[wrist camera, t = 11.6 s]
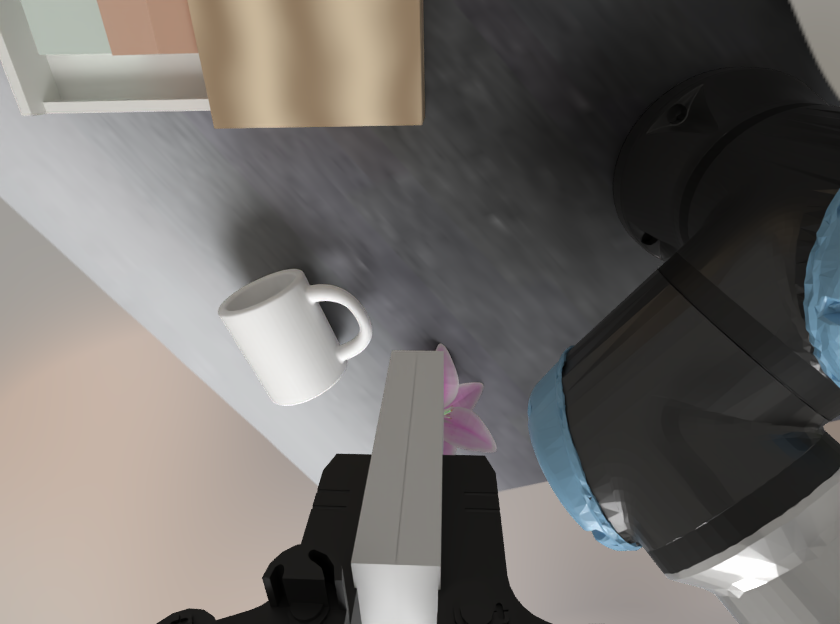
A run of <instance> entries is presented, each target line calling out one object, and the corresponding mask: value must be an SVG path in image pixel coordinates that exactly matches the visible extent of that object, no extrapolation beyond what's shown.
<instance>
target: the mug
mask: <svg viewBox="0 0 840 624" xmlns="http://www.w3.org/2000/svg"><path fill="white" fill-rule="evenodd" d="M318 301H332V302H337V303H340V304H342V305H344V306H346V307H347V308H348V309H349V310H350V311H351V312H352V313H353V314H354V316H355V317H356V319H357V321H358V323H359V326H360V331H359V334H358V335H357V336H356V337H355V338H354V339H352V340H351V341H349V342H347V343H344V344H342V345H340V344H339V342H338V340H337V338H336V336H335V334H334V332H333V330H332V328H331V326H330V324H329V322H328V320H327V318H326V316H325V314H324V312H323V310H322V308H321V306H320V304H319V302H318ZM218 314H219V316H220V318H221V319H222V321H223V323H224V324H225V326H226V327H227V329H228V331H229V332H230V334H231V336H232V337H233V339H234V340H235V342H236V344H237V345H238V347H239V348H240V350H241V352H242V353H243V355H244V357H245V358H246V360H247V361H248V363H249V365H250V366H251V368H252V370H253V371H254V373H255V374H256V376H257V378H258V379H259V381H260V383H261V384H262V386H263V387H264V389H265V391H266V392H267V394H268V396H269V397H270V399H271V400H272V401H273V402H274V403H275V404H278V405H282V406H290V405H296V404H300V403H303V402H306V401H309V400H311V399H313V398H315V397H317V396H319V395H321V394H322V393H324V392H325V391H327V390H328V389H329V388H331V387H332V386H333V385H334V384H335V383H336V382H337V381H338V380H339V379H340V378H341V377H342V375H343V374H344V372H345V370H346V367H347V359H350V358H352V357H354V356H356V355H357V354H359V353H360V352H362V351H363V350H364V349H365V348H366V347H367V346H368V344H369V342H370V340H371V337H372V324H371V321H370V318H369V316H368V314H367V312H366V310H365V309H364V307H363V306H362V304H361V303H360V302H359V301H358V300H357V299H356V298H355V297H354V296H353V295H352V294H350V293H349V292H347V291H346V290H344V289H342V288H340V287H337V286H333V285H328V284H317V285H310V284H309V282H308V280H307V278H306V276H305V274H304V273H303V271H301V270H299V269H287V270H282V271H278V272H275V273H272V274H269V275H267V276H264V277H262V278H260V279H257V280H255V281H253V282H251V283H249V284H248V285H246V286H244V287H242V288H241V289H239V290H238V291H236V292H235V293H233V294H232V295H231V296H229V297H228V298H227V299H226V300H225V301H224V302H223V303H222V304H221V305H220V307H219V310H218Z"/></svg>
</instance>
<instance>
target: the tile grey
mask: <svg viewBox="0 0 840 624" xmlns="http://www.w3.org/2000/svg"><path fill="white" fill-rule="evenodd" d="M20 1H21V4H22V7H23V10H24V13H25V15H26V18H27V21H28V24H29V27H30V30H31V33H32V36H33V38H34V41H35V44H36V47H37V50H38V53H39V55H83V54H112V52H111V48H110V45H109V42H108V38H107V35H106V31H105V28H104V24H103V21H102V17H101V14H100V10H99V7H98V3H97V0H20Z"/></svg>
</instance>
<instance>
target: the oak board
mask: <svg viewBox="0 0 840 624" xmlns="http://www.w3.org/2000/svg"><path fill="white" fill-rule="evenodd" d="M187 1H188V6H189V11H190V15H191V20H192V25H193V29H194V34H195V39H196V44H197V48H198V53H199V58H200V63H201V67H202V72H203V77H204V81H205V86H206V91H207V96H208V100H209V105H210V110H211V114H212V119H213V124H214V129H219V128H276V127H333V126H391V125H422V124H423V121H424V118H425V84H424V23H423V0H187Z"/></svg>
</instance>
